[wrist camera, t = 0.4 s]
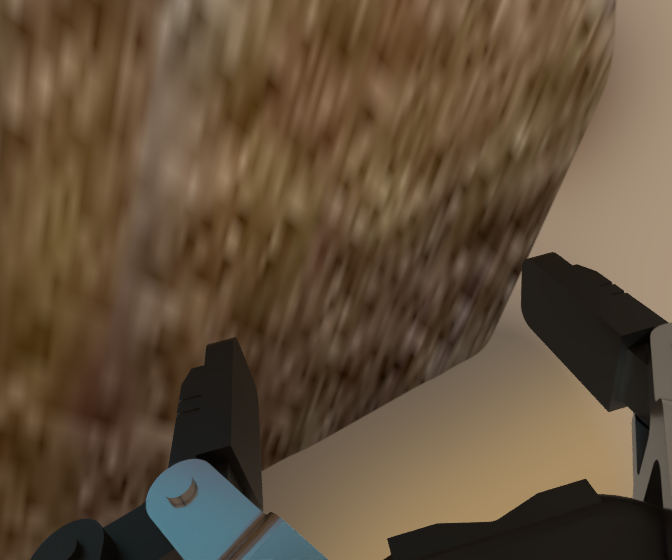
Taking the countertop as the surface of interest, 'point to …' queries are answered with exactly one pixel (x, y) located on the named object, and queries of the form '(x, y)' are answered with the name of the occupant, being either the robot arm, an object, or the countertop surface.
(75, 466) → the countertop surface
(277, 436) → the countertop surface
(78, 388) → the countertop surface
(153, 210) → the countertop surface
